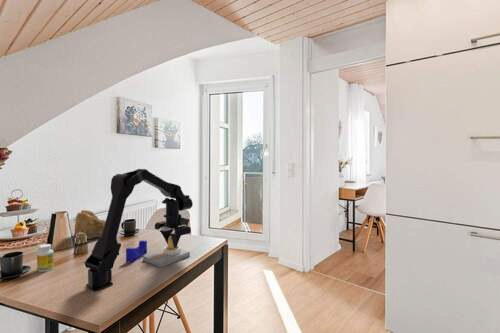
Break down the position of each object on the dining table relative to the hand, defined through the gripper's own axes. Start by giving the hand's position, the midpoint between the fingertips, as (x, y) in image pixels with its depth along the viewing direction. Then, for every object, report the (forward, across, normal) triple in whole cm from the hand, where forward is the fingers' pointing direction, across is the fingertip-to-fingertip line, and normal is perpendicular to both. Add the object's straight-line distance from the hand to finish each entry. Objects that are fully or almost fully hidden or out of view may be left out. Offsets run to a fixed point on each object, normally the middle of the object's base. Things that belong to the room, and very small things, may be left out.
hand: (172, 246), depth 128 cm
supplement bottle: (+5, +28, +40) cm, 49 cm away
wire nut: (+1, 0, 0) cm, 1 cm away
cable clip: (+5, +12, +11) cm, 17 cm away
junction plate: (+4, 0, +3) cm, 5 cm away
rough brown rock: (+5, +59, +8) cm, 60 cm away
